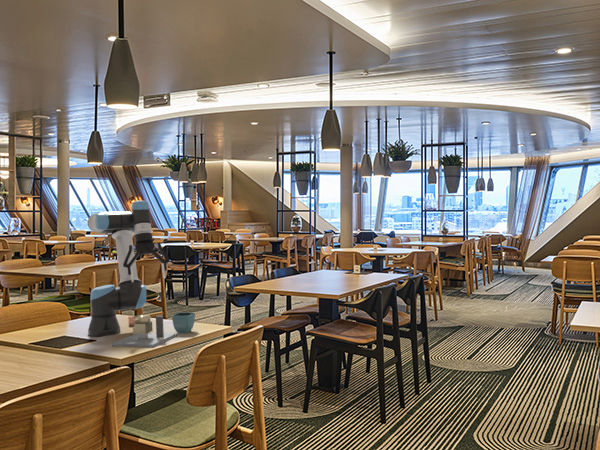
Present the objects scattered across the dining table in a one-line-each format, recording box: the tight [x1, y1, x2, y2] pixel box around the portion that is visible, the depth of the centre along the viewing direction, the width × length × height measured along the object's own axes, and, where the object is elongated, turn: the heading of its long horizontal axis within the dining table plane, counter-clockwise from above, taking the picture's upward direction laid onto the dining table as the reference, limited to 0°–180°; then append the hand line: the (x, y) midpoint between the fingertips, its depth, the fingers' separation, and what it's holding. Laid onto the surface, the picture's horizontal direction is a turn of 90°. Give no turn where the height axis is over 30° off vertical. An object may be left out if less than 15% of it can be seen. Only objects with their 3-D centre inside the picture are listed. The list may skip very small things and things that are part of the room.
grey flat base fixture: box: [111, 315, 177, 348], centre depth 256 cm, size 20×22×11 cm
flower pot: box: [171, 311, 196, 334], centre depth 273 cm, size 9×9×9 cm
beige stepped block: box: [127, 314, 154, 335], centre depth 252 cm, size 14×7×9 cm, turn 167°
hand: (148, 280), depth 247 cm, fingers open, 13 cm apart
